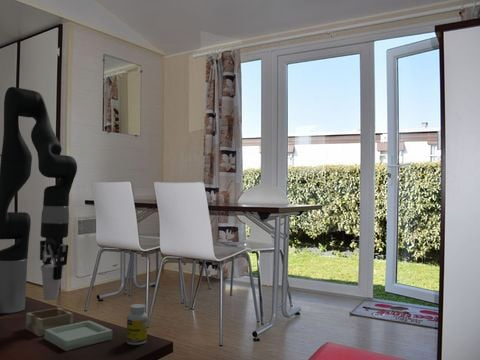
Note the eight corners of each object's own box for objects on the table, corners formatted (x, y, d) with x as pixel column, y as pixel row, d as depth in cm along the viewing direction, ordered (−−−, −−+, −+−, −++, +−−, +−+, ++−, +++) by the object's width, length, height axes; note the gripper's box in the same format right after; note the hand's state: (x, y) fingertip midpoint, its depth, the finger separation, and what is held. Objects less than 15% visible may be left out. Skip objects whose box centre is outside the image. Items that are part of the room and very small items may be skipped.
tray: (44, 338, 112) (44, 329, 112) (88, 328, 122) (89, 320, 122) (65, 350, 104) (66, 341, 104) (112, 339, 113) (112, 330, 113)
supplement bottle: (122, 343, 110) (123, 306, 110) (133, 337, 115) (135, 302, 115) (139, 346, 108) (140, 309, 108) (150, 340, 113) (151, 304, 114)
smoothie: (53, 302, 118) (56, 253, 118) (33, 300, 119) (36, 251, 119) (67, 296, 124) (69, 250, 125) (48, 295, 125) (50, 249, 126)
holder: (25, 328, 120) (26, 313, 120) (58, 322, 127) (58, 307, 128) (39, 336, 114) (39, 319, 114) (72, 329, 121) (73, 313, 121)
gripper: (32, 219, 124) (29, 275, 124) (53, 223, 115) (49, 283, 114) (56, 219, 130) (53, 272, 129) (78, 222, 120) (75, 280, 120)
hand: (52, 277), depth 122 cm, fingers closed on smoothie, 6 cm apart
